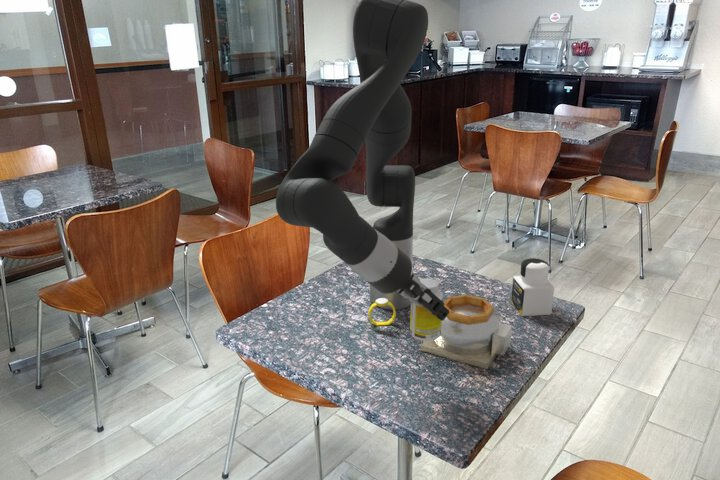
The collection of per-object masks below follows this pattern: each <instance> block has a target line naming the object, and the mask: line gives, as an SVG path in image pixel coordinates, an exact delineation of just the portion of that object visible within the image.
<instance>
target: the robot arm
mask: <svg viewBox="0 0 720 480" xmlns="http://www.w3.org/2000/svg"><path fill="white" fill-rule="evenodd" d="M352 23H353V24H352V39H353V47H354V53H355V58H356V63H357V68H358V73H359V79H360V83H359V84H358V85H356V86H354V87H353V88H352V89H350V90H348V91H347V92H346V93H344V94H342V96H340V97H339V98H337V99H336V101H335V102H334V103H332V105H331V106H330V107H329V109H328V110H327V111H326V113H325V115H324V116H323V119H322V121H321V122H320V125H319V127H318V129H317V131H316V132H315V134H314V136H313V138H312V140H311V142H310V145H309V146H308V148H307V150H306V151H305V152H303V154H301V156H300V157H299V158H298V159H297V161H295V164H294V165H293V166H292V167H291V168H290V170H289V171H288V172H287V174H286V175H285V177H284V178H283V180H282V181H281V183H280V185H279V187H278V190H277V192H276V197H275V209H276V212H277V215H278V216H279V218H280V220H282V221H283V222H284V223H287V224H289V225H292V226H295V227H296V226H297V227H306V228H313V229H314V230H316V231H318V232H319V233H320V234H322V240H323V244H324V245H325V247H327V249H328V250H329V251H330V252H331V253H332V254H334V255H335V256H336V257H338V258H339V259H340V260H341V261H342V262H343V263H345V264H346V265H347V266H348V267H349V268H350V269H351V270H352V272H354V273H355V274H356V275H358V276H359V277H360V278H361V279H363V280H364V281H365V282H367V283H368V284H369V303H372V304H373V303H375V302H376V300H377V299H379V298H386V299H387V300H388V302H390V303H392V304H393V306H394V307H395V310H402V309H405V308H408V307H409V306H411V301H412V302H413V303H414V304H416V305H417V306H419V307H421V306H423V307H424V308H426V309H427V311H428V312H431V313H432V314H433V315H435V316H436V317H437V318H439V319H440V320H441V321H443V320H444V319H445V318H446V317H447V315H448V314H449V310H448V309H447V308H446V307H444V303H443V302H444V300H443V301H442V300H440V299H439V298H438V297H437V296H436V295H434V294H433V293H432V292H431V290H430V289H429V288H427V287H426V286H425V285H424V284H422V283H421V282H420V279H421V278H418V277H417V276H416V275H414V273H413V256H414V255H413V247H414V243H413V242H414V241H413V240H414V205H415V204H414V203H415V194H416V193H415V192H416V174H415V171H414V168H413V166H410V165H402V164H399V165H389V164H388V162H389V161H390V160H392V159H393V158H394V157H395V156H396V155H397V154H398V153H399V152H400V151H401V150H403V148H404V147H405V145H406V144H407V143H408V141H409V138H410V136H411V131H412V104H411V102H410V99H409V97H408V95H407V93H406V91H405V89H404V88H403V86H402V84H401V83H402V82H403V80H404V79H405V76H406V75H407V74H408V73H409V70H410V69H411V68H412V66H413V65H414V64H415V62H416V59H417V58H418V56H419V54H421V50H422V49H423V47H424V44H425V40H426V37H427V33H428V29H429V12H428V11H427V8H426V7H425V6H424V5H423V4H420V3H417V2H414V1H411V0H358V3H357V4H356V7H355V11H354V16H353V21H352ZM364 145H365V153H366V163H365V166H366V167H365V168H366V170H365V172H366V174H365V188H366V189H365V190H366V197H367V200H368V202H369V203H370V205H371V206H374V207H381V208H383V207H385V208H388V207H389V208H391V207H393V208H394V207H395V208H398V209H397V210H396V211H395V212H393V213H390V214H389V215H386V216H383V217H380V218H378V219H377V220H375V221H374V222H373V224H372V225H371V224H370V223H369V222H368V221H367V220H365V219H364V218H363V217H362V216H361V215H360V214H359V213H358V211H357V209H356V207H355V206H354V204H353V203H352V201H351V200H350V198H349V197H348V195H347V194H346V193H345V192H344V191H343V189H341V187H339V186H338V185H337V184H336V183H334V182H333V181H334V180H335V179H336V178H339V177H341V176H343V175H345V174H348V173H349V172H350V171H351V170H352V167H353V166H354V164H355V163H356V160H357V159H358V156H359V154H360V152H361V150H362V148H363V146H364ZM420 286H421V287H422V288H423V289H424V292H423V291H422V288H421V287H420ZM418 296H419V298H418V300H415V299H413V298H417V297H418ZM412 297H413V298H412ZM377 307H378V308H381V309H385V310H389V311H390V310H391V311H393V309H392V307H391V306H389V305H386V306H377Z"/></svg>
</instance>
